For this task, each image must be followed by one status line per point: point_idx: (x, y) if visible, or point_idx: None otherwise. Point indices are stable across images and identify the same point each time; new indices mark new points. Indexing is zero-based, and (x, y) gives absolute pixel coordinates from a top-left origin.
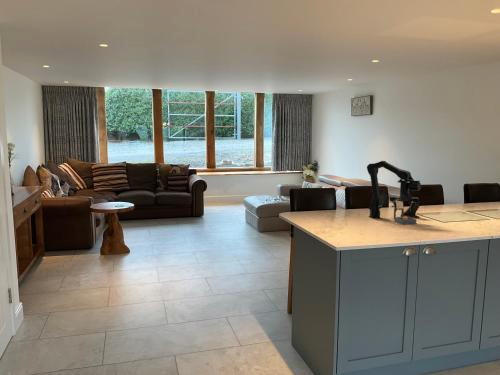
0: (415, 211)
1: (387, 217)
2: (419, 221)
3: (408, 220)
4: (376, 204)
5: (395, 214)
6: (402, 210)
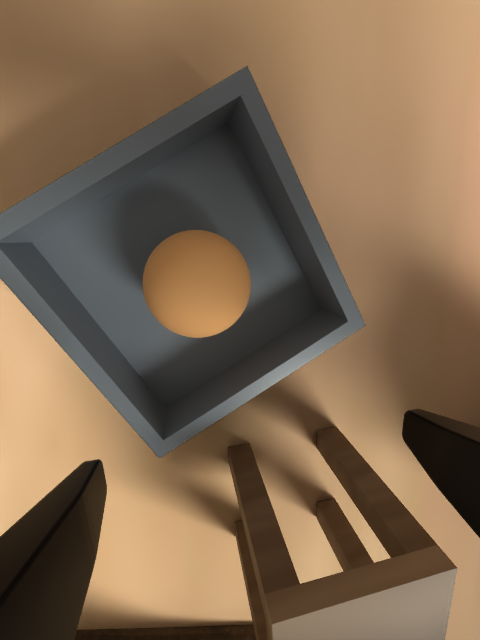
0: None
1: None
2: (5, 457)
3: (126, 146)
4: None
5: (356, 478)
6: (285, 575)
